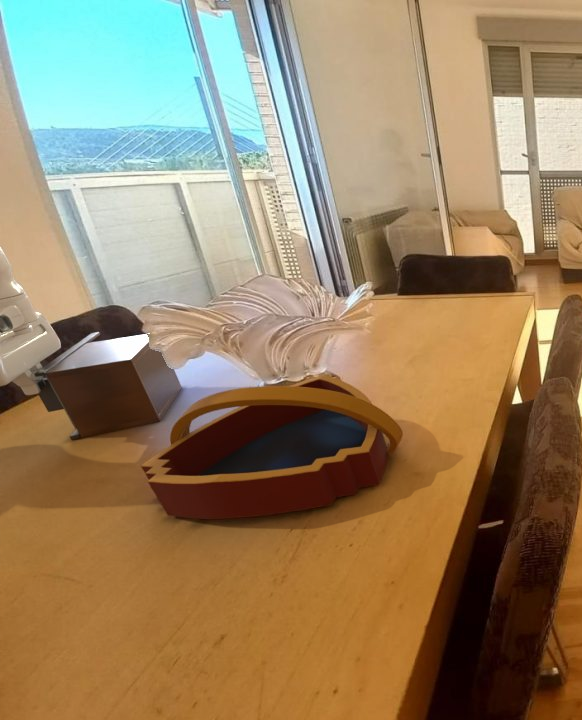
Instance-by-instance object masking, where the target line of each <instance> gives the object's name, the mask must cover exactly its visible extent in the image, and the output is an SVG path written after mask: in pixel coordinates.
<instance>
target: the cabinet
mask: <svg viewBox="0 0 582 720" xmlns="http://www.w3.org/2000/svg"><path fill="white" fill-rule="evenodd" d="M147 334H148V333H145V334H139V335H138V334H137V335H132V336H126V337H117V338H112V339H105V340H97V341H94V340H95V339H96V338H98V337H100V336H101V332H99V331H96V332H90V334H88V335H87V336H86V337H84V338H82V339H81V340H80V341H78V342H77V343H75V344H74V345H73V346H71V347H70V348H68V349H67V350H66V351H64V352H63V353H61V354H59V356H57V357H56V358H55V359H53V360H52V361H50V362H49V363H47V364H46V365H44V366H42V369H40V370H39V371H38V372H36V373H35V374H34V375H35V377H39V376H43V377H44V376H45V375H47V377H48V379H49V381H50V382H51V384H52V386H53V388H54V390H55V391H56V393H57V395H58V397H59V399H60V400H61V402H62V404H63V406H64V408H65V409H66V411H67V413H68V415H69V416H70V418H71V420H72V422H73V424H74V425H75V427H76V429H75V430H74V431H72V433H71V434H70V435H69V439H70V440H71V441H74V440H78V439H84V438H88V437H92V436H98V435H102V434H106V433H112V432H116V431H121V430H125V429H130V428H135V427H140V426H145V425H150V424H155V423H158V422H161V420H162V419H163V418H164V416H165V415H166V413H167V411H168V410H169V408H170V407H171V406H172V403H173V402H174V401H175V399H176V397H178V395H179V393H180V391H181V390H182V388H183V386H182V385H181V382H180V380H179V378H178V375H177V373H176V371H175V368H174V369H171V368H169V367H168V366H167V364H166V362H165V360H164V358H163V356H162V353H161V352H159V351H155V350H152V349H150V347H149V337H148V335H147ZM45 377H46V376H45ZM68 415H67V416H68ZM72 422H71V423H72ZM73 424H72V425H73Z"/></svg>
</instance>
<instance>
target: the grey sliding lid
mask: <svg viewBox="0 0 582 720" xmlns="http://www.w3.org/2000/svg"><path fill="white" fill-rule="evenodd" d="M43 379H44V381H45V382H46V384H47V387H46V388H44V389H43V390H42V391H41V392H39V393H38V394H37V395H38V397H39V398H40V400H41V402H42V404H43V405H44V407H45V409H46V411H47V412H48V413H51V412H56V411H61V410H64V412H65V414H66V415H67V418H68V419H69V420H70V422H71V424H72V427H73V428H74V429H75V430H76V427H75V425H74V424H73V422H72V420H71V418H70V416H69V415H68V413H67V411H66V409H65V408H64V406H63V404H62V402H61V400H60V399H59V397H58V395H57V393H56V391H55V390H54V388H53V386H52V384H51V382H50V381H49V379H48V377H47V375H45V377H43Z"/></svg>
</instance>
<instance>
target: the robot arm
mask: <svg viewBox="0 0 582 720" xmlns="http://www.w3.org/2000/svg"><path fill="white" fill-rule="evenodd" d="M15 279H16V278H14V275H13V269H12V265H11V263H10V261H9V259H8V258H7V255H6V254H5V252H4V250H3V248H2V247H1V246H0V387H3V386H6V385H9V384H10V383H11V382H12V383H13V384H15V385H16V386H18V388H19V387H20V389H21V391H22V392H23V394H24V395H25V396H34V395H38V393H39V392H41V391H42V390H43V389H44V388H46V387H47V384H46V382H45V381H44V379H43V378H44V376H39V377H35V375H34V374H35V373H36V372H38V371H39V370H40V369H42V368H43V365H42V363H41V362H42V361H44V360H45V359H47V358H48V357H50V356H52V355H53V354H54V353H56V352H57V351H59V350H60V349H61V348H62V345H61V344H62V343H61V340H60V338H59V336H58V334H57V333H56V331H55V330H54V329H53V327H52V325H51V324H50V322H49V320H48V319H47V318H46V317H45V316H44V314H42V313H40V312H37V311H36V310H35V308H34V306H33V304H32V302H31V300H30V298H29V295H27V293H26V291H25V289H24V288H23V287H22V286H21V285H20V284H19V283H18V282H17V281H16V280H15Z"/></svg>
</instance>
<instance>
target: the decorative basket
mask: <svg viewBox="0 0 582 720" xmlns="http://www.w3.org/2000/svg"><path fill="white" fill-rule="evenodd" d="M231 408H234V409H233V410H230V411H229V412H228V411H227V412H226V413H224V414H223V415H221V416H218V417H216V418H215V419H212V420H211V421H209V422H207V423H205V424H203V425H202V426H199V427H198V428H196V429H194V430H193V431H191V430H190V428H191V424H192V422H193V421H194V420H195V419H197V418H199V417H201V416H203V415H205V414H209V413H212V412H216V411H221V410H225V409H231ZM403 436H404V434H403V429H402V427H401V426H400V425H399V423H398V422H397V421H396V420H395V419H394V418H393V417H392V416H391V415H389V414H388V413H387V412H385V410H383V409H381V408H380V407H378V406H376V405H375V404H373V403H372V401H371V400H370V399H369V398H368V396H367V395H365V393H363V392H362V391H361V390H359V389H358V388H357V387H356V386H353V385H351V384H350V383H348V382H345V381H343V380H341V379H338V378H336V377H333V376H329V375H326V374H321V375H318V376H314V377H311V378H308V379H305V380H303V381H299V382H296V383H293V384H290V385H267V386H265V385H263V386H248V387H247V386H246V387H239V388H233V389H228V390H223V391H219V392H217V393H213V394H210V395H208V396H205V397H203V398H200V399H199V400H197V401H195V402H193V404H191V405H190V406H189V407H188V408H187V409H186V410H185V411H184V412H183V414H182V415H181V416H180V417H179V419H178V420H177V421H176V422H175V423H174V425H173V426H172V428H171V431H170V435H169V441H170V445H168V446H167V447H165V448H164V449H162V450H161V451H159V452H158V453H156V454H155V455H153V456H152V457H150V458H149V459H148V460H146V461H145V462H143V463H142V464H141V465H140V467H141V469H142V471H143V472H144V475H145V476H146V478H147V479H148V480H147V484H148V485H149V487H150V489H151V490H152V491H153V493H154V495H155V497H156V498H157V500H158V501H159V503H160V505H161V506H162V508H163V510H164V511H165V513H166V515H167V516H169V517H178V518H187V519H188V518H189V519H203V520H205V519H206V520H216V519H217V520H219V519H231V518H246V517H247V518H248V517H249V518H250V517H260V516H267V515H269V516H270V515H277V514H282V513H290V512H295V511H302V510H309V509H315V508H319V507H325V506H331V505H333V503H334V502H335V500H336V498H339V497H344V496H345V497H346V496H352V495H356V493H357V491H359V489H360V488H366V487H372V486H377V485H380V484H381V481H382V479H383V476H384V474H385V470H386V467H387V462H388V456H389V455H391V454H393V453H394V452H395V451H396V450H397V448H398V446H399V444H400V443H401V440H402V438H403ZM385 437H387V438H388V441H389V444H387V442H386V439H385Z"/></svg>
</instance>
